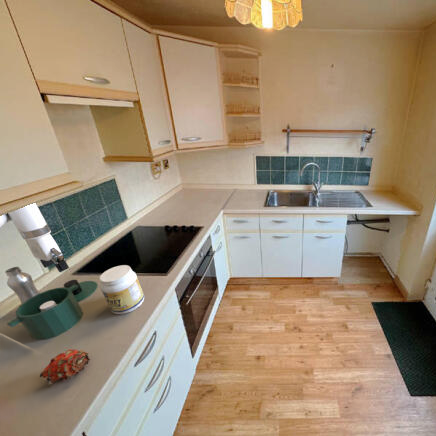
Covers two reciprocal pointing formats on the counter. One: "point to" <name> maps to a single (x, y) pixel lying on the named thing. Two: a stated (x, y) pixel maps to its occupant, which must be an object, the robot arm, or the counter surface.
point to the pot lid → (82, 289)
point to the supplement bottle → (47, 305)
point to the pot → (49, 313)
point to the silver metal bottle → (21, 284)
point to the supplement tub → (121, 289)
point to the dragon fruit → (65, 365)
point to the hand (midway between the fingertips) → (56, 267)
